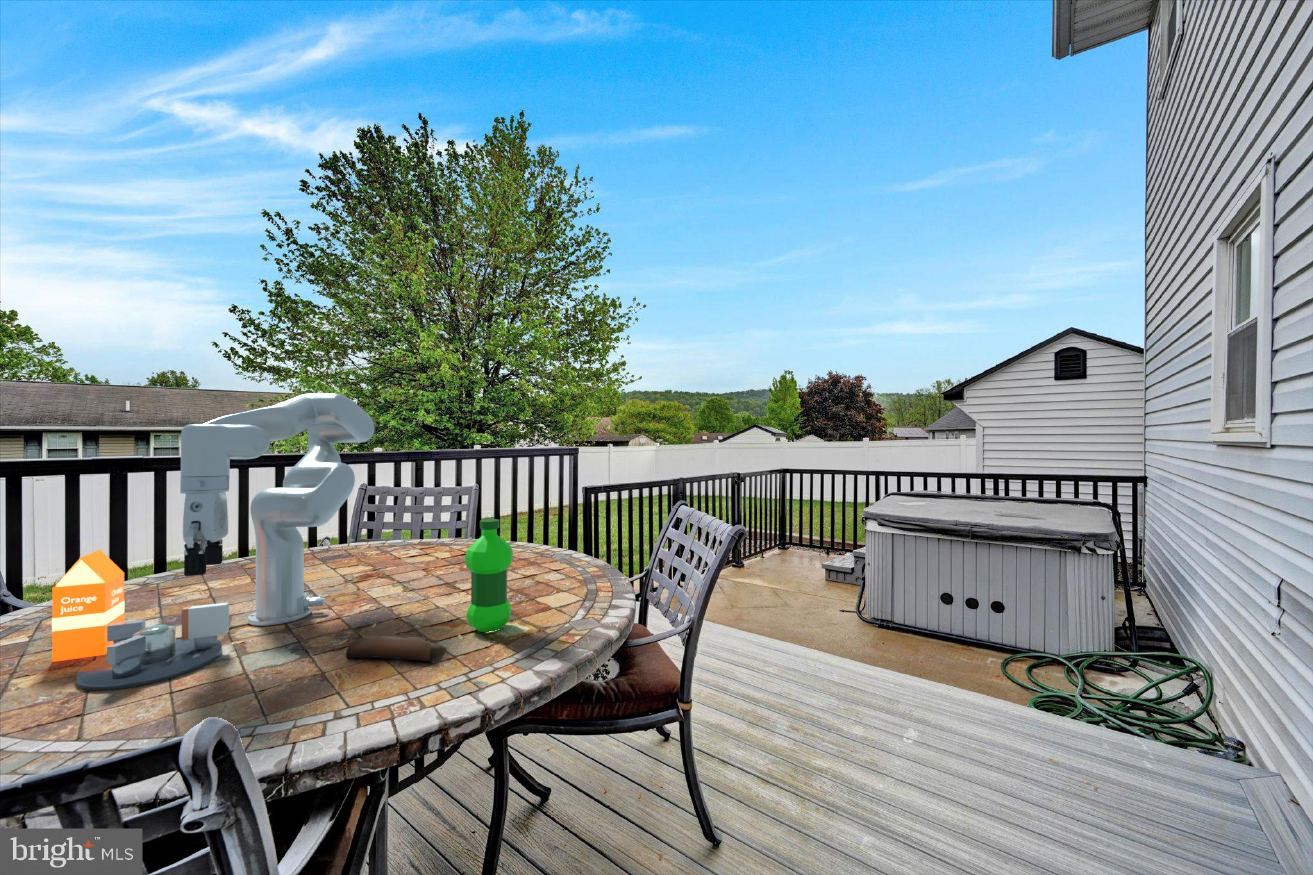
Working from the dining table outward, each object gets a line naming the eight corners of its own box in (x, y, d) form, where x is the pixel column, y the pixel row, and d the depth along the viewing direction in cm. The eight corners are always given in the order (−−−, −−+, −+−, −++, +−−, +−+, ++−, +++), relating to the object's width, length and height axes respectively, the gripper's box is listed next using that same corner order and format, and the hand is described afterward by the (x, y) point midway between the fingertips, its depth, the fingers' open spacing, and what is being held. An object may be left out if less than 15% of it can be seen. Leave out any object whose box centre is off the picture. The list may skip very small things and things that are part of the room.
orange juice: (51, 662, 101) (51, 559, 101) (75, 646, 109) (75, 551, 109) (106, 654, 105) (106, 555, 105) (125, 639, 113) (125, 547, 113)
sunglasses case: (452, 646, 109) (444, 625, 106) (437, 676, 103) (428, 654, 100) (372, 643, 111) (362, 621, 108) (353, 672, 105) (341, 650, 102)
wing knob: (230, 639, 109) (230, 600, 109) (224, 645, 105) (224, 605, 105) (186, 645, 106) (186, 605, 106) (179, 651, 102) (179, 610, 102)
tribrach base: (234, 638, 114) (234, 604, 114) (202, 676, 96) (202, 635, 95) (110, 654, 105) (110, 617, 105) (49, 700, 87) (49, 655, 87)
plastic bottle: (498, 618, 127) (498, 515, 127) (520, 629, 119) (520, 520, 119) (458, 628, 120) (458, 520, 120) (479, 641, 112) (479, 525, 112)
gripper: (214, 487, 99) (213, 577, 99) (240, 481, 115) (239, 559, 115) (163, 488, 96) (161, 581, 96) (197, 482, 112) (195, 562, 111)
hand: (204, 569), depth 105 cm, fingers open, 9 cm apart
